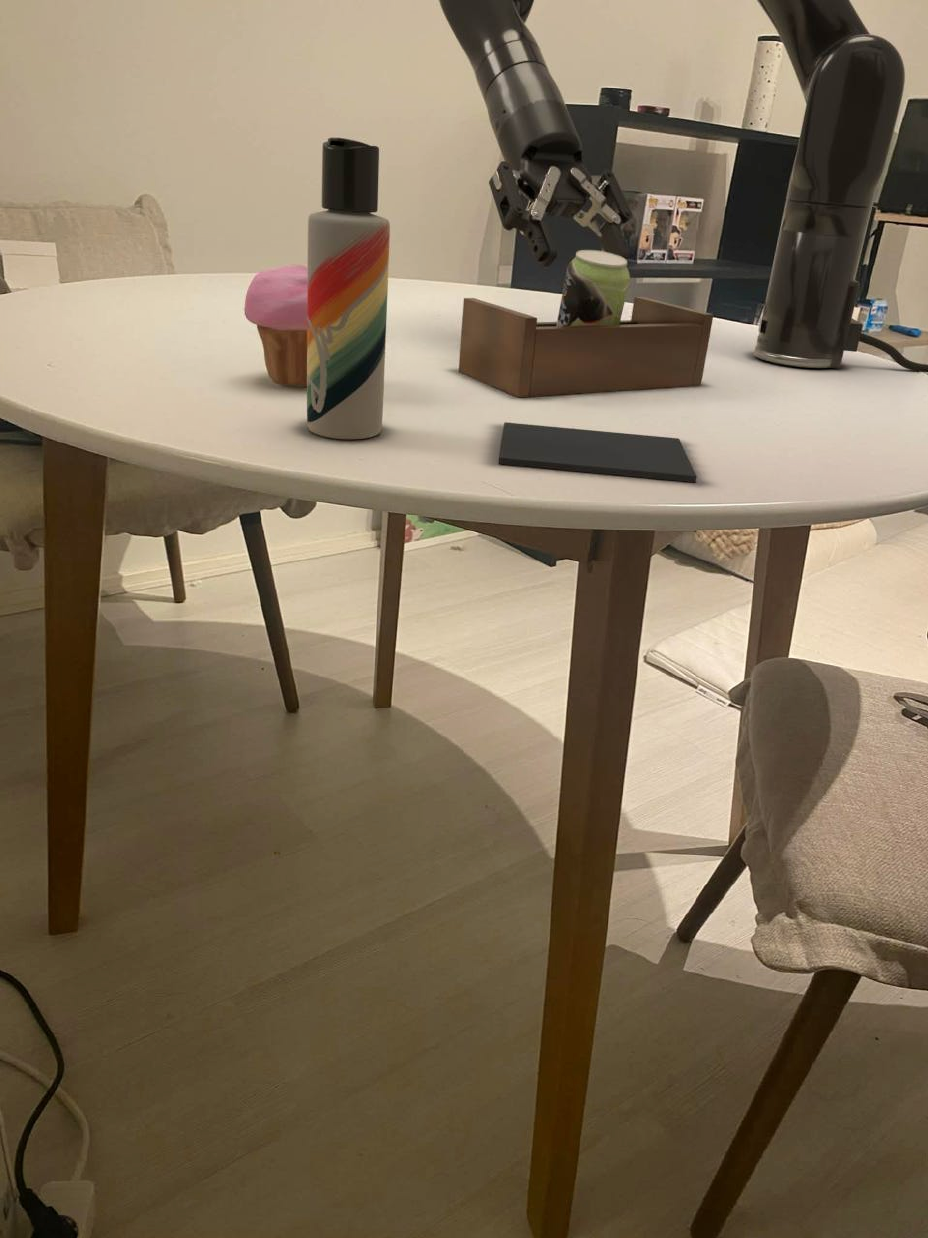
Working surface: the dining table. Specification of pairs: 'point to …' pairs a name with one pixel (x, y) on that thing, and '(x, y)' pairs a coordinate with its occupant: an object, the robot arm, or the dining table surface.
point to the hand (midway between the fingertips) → (586, 262)
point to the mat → (595, 452)
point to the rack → (584, 350)
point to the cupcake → (281, 321)
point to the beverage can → (594, 289)
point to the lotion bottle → (347, 296)
